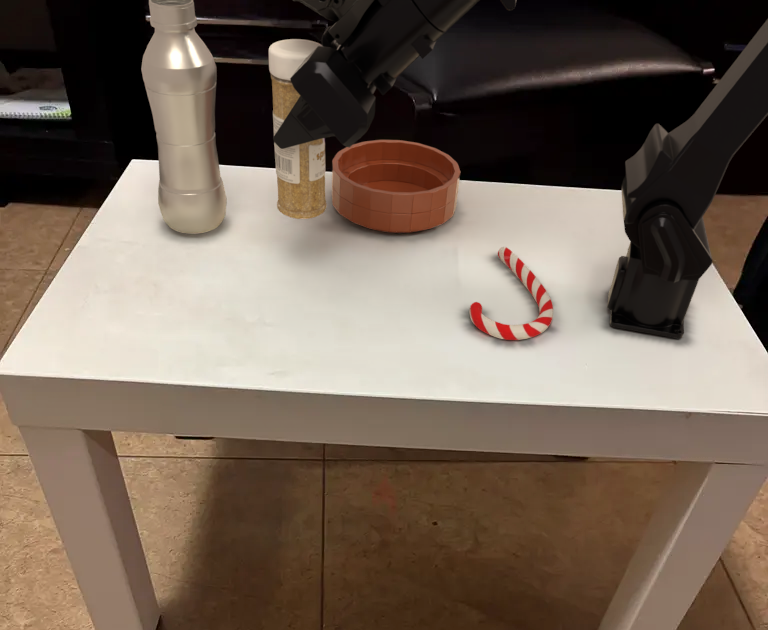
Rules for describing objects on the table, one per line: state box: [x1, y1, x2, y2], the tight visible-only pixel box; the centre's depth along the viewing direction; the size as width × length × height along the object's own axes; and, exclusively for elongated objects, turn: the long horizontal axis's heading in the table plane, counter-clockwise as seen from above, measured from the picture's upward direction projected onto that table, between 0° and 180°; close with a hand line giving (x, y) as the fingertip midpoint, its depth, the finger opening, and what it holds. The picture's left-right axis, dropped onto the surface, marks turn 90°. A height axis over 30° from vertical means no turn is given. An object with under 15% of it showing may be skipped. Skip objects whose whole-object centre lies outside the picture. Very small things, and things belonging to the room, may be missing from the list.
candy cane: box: [469, 246, 554, 341], centre depth 77 cm, size 8×1×15 cm
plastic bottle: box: [140, 0, 228, 235], centre depth 76 cm, size 6×7×20 cm
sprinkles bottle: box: [268, 38, 328, 220], centre depth 70 cm, size 5×5×14 cm
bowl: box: [331, 139, 462, 234], centre depth 87 cm, size 13×13×4 cm
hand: (284, 132), depth 70 cm, fingers closed on sprinkles bottle, 4 cm apart
